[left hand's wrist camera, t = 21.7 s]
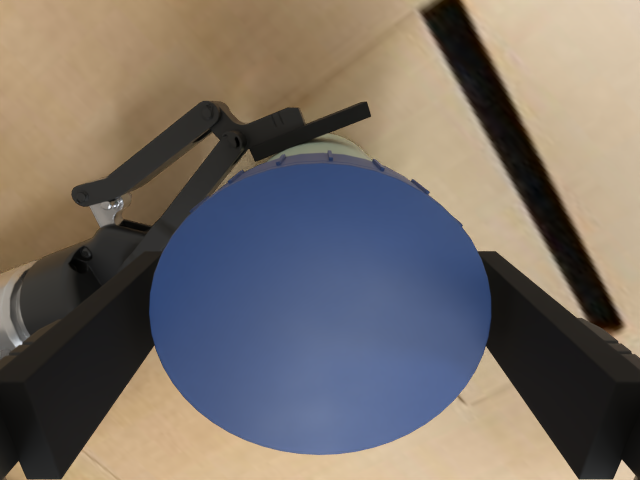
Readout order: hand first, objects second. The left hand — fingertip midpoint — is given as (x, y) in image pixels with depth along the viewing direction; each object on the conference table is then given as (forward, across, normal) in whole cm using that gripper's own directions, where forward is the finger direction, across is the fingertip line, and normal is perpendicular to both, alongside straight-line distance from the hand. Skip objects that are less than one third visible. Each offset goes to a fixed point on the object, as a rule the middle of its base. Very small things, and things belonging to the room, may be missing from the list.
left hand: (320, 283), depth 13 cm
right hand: (+8, -4, -2) cm, 10 cm away
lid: (-3, 0, 0) cm, 3 cm away
